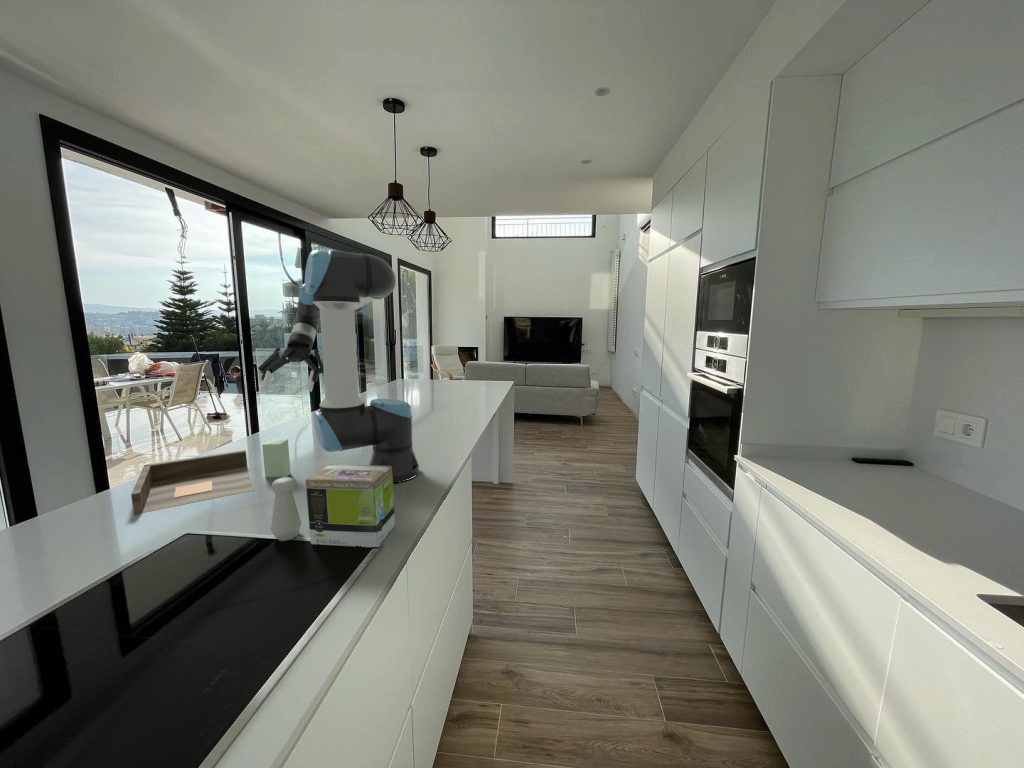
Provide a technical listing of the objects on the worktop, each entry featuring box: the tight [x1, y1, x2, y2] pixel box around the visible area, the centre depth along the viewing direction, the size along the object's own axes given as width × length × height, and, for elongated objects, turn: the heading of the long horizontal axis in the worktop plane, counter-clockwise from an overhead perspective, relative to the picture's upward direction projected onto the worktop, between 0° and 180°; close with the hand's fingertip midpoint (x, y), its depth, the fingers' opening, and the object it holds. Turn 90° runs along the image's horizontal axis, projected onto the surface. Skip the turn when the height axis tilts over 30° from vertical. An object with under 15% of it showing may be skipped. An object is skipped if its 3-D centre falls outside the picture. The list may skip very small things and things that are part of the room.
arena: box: [130, 449, 255, 515], centre depth 113 cm, size 24×24×6 cm
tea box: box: [305, 463, 396, 548], centre depth 89 cm, size 15×10×15 cm
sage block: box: [262, 438, 291, 479], centre depth 122 cm, size 5×5×11 cm
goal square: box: [174, 481, 212, 498], centre depth 111 cm, size 8×8×1 cm
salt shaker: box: [270, 476, 302, 542], centre depth 88 cm, size 6×6×13 cm
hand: (286, 389), depth 129 cm, fingers open, 13 cm apart
